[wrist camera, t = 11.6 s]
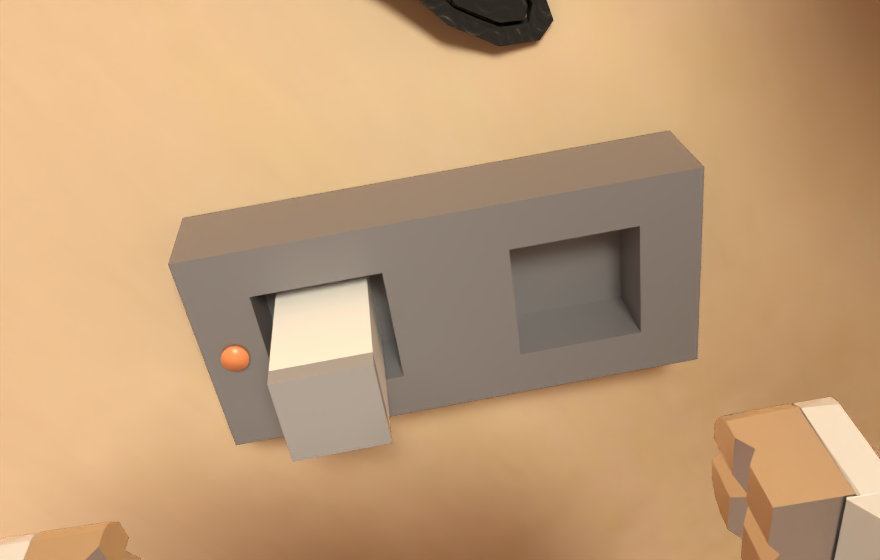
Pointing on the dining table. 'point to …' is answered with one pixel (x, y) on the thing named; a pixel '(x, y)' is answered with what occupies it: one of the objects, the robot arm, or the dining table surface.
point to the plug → (329, 369)
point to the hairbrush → (496, 18)
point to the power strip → (465, 274)
